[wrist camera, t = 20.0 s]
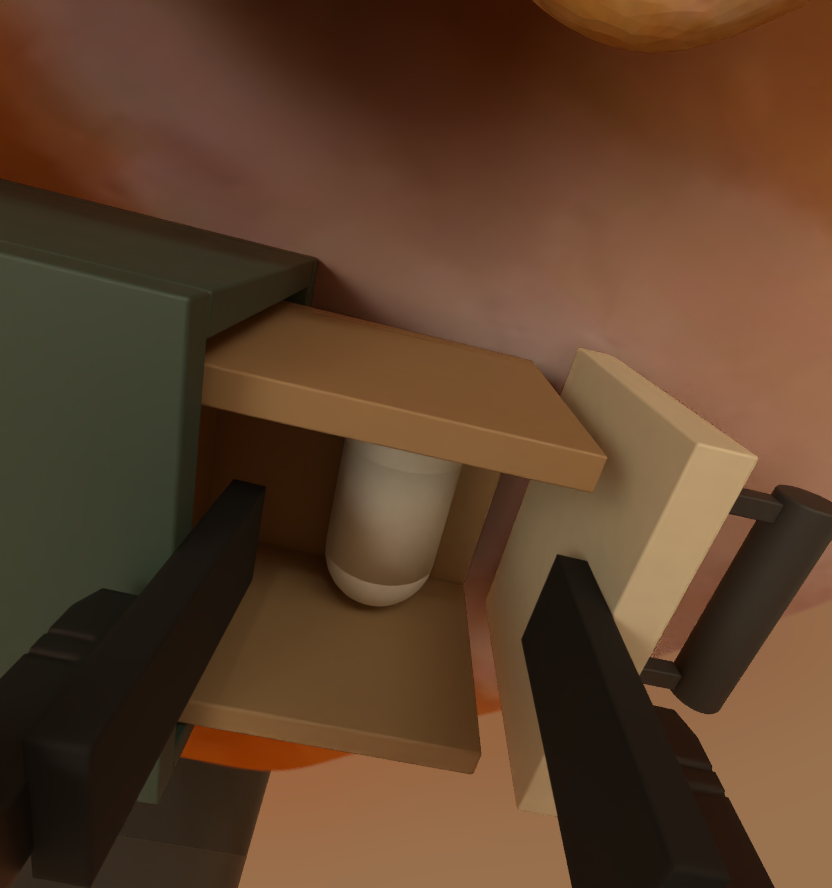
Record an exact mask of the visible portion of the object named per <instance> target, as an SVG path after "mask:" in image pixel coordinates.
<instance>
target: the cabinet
mask: <svg viewBox="0 0 832 888" xmlns="http://www.w3.org/2000/svg"><path fill="white" fill-rule="evenodd" d="M317 265H318V259H317V258H315V257H311V256H307V255H303V254H299V253H295V252H291V251H287V250H283V249H279V248H275V247H271V246H267V245H263V244H259V243H255V242H251V241H247V240H243V239H239V238H235V237H231V236H227V235H223V234H219V233H215V232H211V231H207V230H203V229H199V228H195V227H191V226H187V225H183V224H179V223H175V222H171V221H167V220H163V219H159V218H155V217H151V216H147V215H143V214H139V213H135V212H131V211H127V210H123V209H119V208H115V207H111V206H107V205H103V204H99V203H95V202H91V201H87V200H83V199H79V198H75V197H71V196H67V195H63V194H59V193H55V192H51V191H47V190H43V189H39V188H35V187H31V186H27V185H23V184H19V183H15V182H11V181H7V180H3V179H0V678H1V677H2V676H3V675H4V674H5V673H6V672H7V671H8V670H9V669H10V668H11V667H12V666H13V665H14V664H15V663H16V662H17V661H18V660H19V659H20V658H21V657H22V656H23V655H24V654H27V653H28V652H29V649H30V647H31V646H32V645H33V644H34V643H35V642H36V641H37V640H38V639H39V638H40V637H41V636H42V635H43V634H44V633H46V634H47V632H48V631H49V628H50V627H51V626H52V625H53V624H54V623H55V622H56V621H57V620H58V619H59V618H60V617H61V616H62V615H63V614H64V612H65V611H66V610H67V609H68V608H69V607H70V606H71V605H73V604H74V603H76V602H78V601H80V600H82V599H83V598H85V597H87V596H89V595H91V594H93V593H94V592H96V591H98V590H100V589H102V588H106V589H110V590H115V591H119V592H124V593H129V594H133V595H138V596H139V595H140V593H141V592H142V591H143V590H144V588H145V587H146V586H147V585H148V584H149V582H150V581H151V580H152V579H153V577H154V576H155V575H156V574H157V572H158V571H159V570H160V569H161V568H162V566H163V565H164V564H165V563H166V561H167V560H168V559H169V558H170V557H171V555H172V554H173V553H174V552H175V551H176V550H177V548H178V547H179V546H180V544H181V543H182V542H183V541H184V539H185V538H186V537H187V536H188V534H189V533H190V532H191V529H192V516H193V503H194V490H195V478H196V465H197V452H198V439H199V427H200V414H201V401H202V388H203V375H204V363H205V350H206V339H208V338H210V337H212V336H214V335H216V334H218V333H220V332H222V331H224V330H226V329H228V328H230V327H231V326H233V325H235V324H237V323H239V322H241V321H243V320H245V319H247V318H249V317H251V316H253V315H255V314H257V313H258V312H260V311H262V310H264V309H266V308H268V307H270V306H272V305H274V304H276V303H278V302H280V301H282V300H284V301H288V302H292V303H296V304H300V305H304V306H308V307H311V304H312V297H313V291H314V284H315V278H316V271H317ZM193 728H194V725H193V724H187V723H181V722H177V724H176V726H175V728H174V730H173V732H172V734H171V735H170V737H169V739H168V741H167V743H166V745H165V747H164V749H163V751H162V753H161V754H160V756H159V758H158V760H157V762H156V764H155V766H154V768H153V770H152V772H151V773H150V775H149V777H148V779H147V781H146V783H145V785H144V787H143V789H142V791H141V792H140V794H139V796H138V798H137V800H136V801H139V802H145V803H151V804H157V803H158V802H159V801H160V799H161V796H162V794H163V792H164V790H165V788H166V786H167V783H168V781H169V779H170V777H171V775H172V771H173V769H174V768H175V766H176V764H177V762H178V760H179V758H180V756H181V753H182V751H183V749H184V747H185V745H186V743H187V740H188V738H189V736H190V734H191V732H192V730H193Z"/></svg>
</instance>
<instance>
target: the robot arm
mask: <svg viewBox="0 0 832 888" xmlns="http://www.w3.org/2000/svg"><path fill="white" fill-rule="evenodd" d="M265 491H266V486H262V485H258V484H253V483H249V482H245V481H240V480H236V479H233V480H232V482H231V483H230V484H229V485H228V487H227V488H226V489H225V490H224V491H223V493H222V494H221V495H220V496H219V498H218V499H217V500H216V501H215V502H214V504H213V505H212V506H211V507H210V509H209V510H208V511H207V512H206V514H205V515H204V516H203V517H202V518H201V520H200V521H199V522H198V523H197V525H196V526H195V527H194V528H193V529H192V531H191V532H190V533H189V534H188V536H187V537H186V538H185V539H184V541H183V542H182V543H181V544H180V546H179V547H178V548H177V550H176V551H175V552H174V553H173V554H172V555H171V557H170V558H169V559H168V560H167V561H166V563H165V564H164V565H163V566H162V568H161V569H160V570H159V571H158V572H157V574H156V575H155V576H154V577H153V579H152V580H151V581H150V582H149V584H148V585H147V586H146V587H145V588H144V590H143V591H142V592H141V593H140V595H139V596H138V595H133V594H129V593H124V592H119V591H115V590H110V589H106V588H102V589H100V590H98V591H96V592H94V593H93V594H91V595H89V596H87V597H85V598H83V599H82V600H80V601H78V602H76V603H74V604H73V605H71V606H70V607H69V608H68V609H67V610H66V611H65V612H64V614H63V615H62V616H61V617H60V618H59V619H58V620H57V621H56V622H55V623H54V624H53V625H52V626H51V627H50V628H49V631H48V632H47V634H46V633H44V634H43V635H42V636H41V637H40V638H39V639H38V640H37V641H36V642H35V643H34V644H33V645H32V646H31V647H30V649H29V652H28V653H27V654H24V655H23V656H22V657H21V658H20V659H19V660H18V661H17V662H16V663H15V664H14V665H13V666H12V667H11V668H10V669H9V670H8V671H7V672H6V673H5V674H4V675H3V676H2V677H1V678H0V888H9V887H10V886H11V884H12V883H13V881H14V880H15V878H16V877H17V875H18V874H19V872H20V871H21V869H22V867H23V866H24V864H25V863H26V861H27V860H28V858H29V857H30V855H31V863H32V876H33V878H37V879H42V880H48V881H53V882H59V883H64V884H70V885H75V886H81V887H86V888H90V887H91V886H92V884H93V882H94V880H95V878H96V876H97V874H98V872H99V870H100V868H101V867H102V865H103V863H104V861H105V859H106V857H107V855H108V853H109V851H110V849H111V848H112V846H113V844H114V842H115V840H116V838H117V836H118V834H119V832H120V830H121V829H122V827H123V825H124V823H125V821H126V819H127V817H128V815H129V813H130V811H131V810H132V808H133V806H134V804H135V802H136V800H137V798H138V796H139V794H140V792H141V791H142V789H143V787H144V785H145V783H146V781H147V779H148V777H149V775H150V773H151V772H152V770H153V768H154V766H155V764H156V762H157V760H158V758H159V756H160V754H161V753H162V751H163V749H164V747H165V745H166V743H167V741H168V739H169V737H170V735H171V734H172V732H173V730H174V728H175V726H176V724H177V722H178V720H179V718H180V716H181V715H182V713H183V711H184V709H185V707H186V705H187V703H188V701H189V699H190V697H191V696H192V694H193V692H194V690H195V688H196V686H197V684H198V682H199V680H200V678H201V677H202V675H203V673H204V671H205V669H206V667H207V665H208V663H209V661H210V659H211V658H212V656H213V654H214V652H215V650H216V648H217V646H218V644H219V642H220V640H221V639H222V637H223V635H224V633H225V631H226V629H227V627H228V625H229V623H230V621H231V620H232V618H233V616H234V614H235V612H236V610H237V608H238V606H239V604H240V602H241V601H242V599H243V597H244V595H245V593H246V591H247V589H248V587H249V585H250V583H251V582H252V579H253V572H254V565H255V558H256V552H257V545H258V538H259V531H260V525H261V518H262V511H263V505H264V498H265ZM521 642H522V647H523V652H524V657H525V661H526V666H527V671H528V676H529V681H530V686H531V691H532V695H533V700H534V705H535V710H536V715H537V720H538V724H539V729H540V734H541V739H542V744H543V749H544V754H545V758H546V763H547V768H548V773H549V778H550V783H551V788H552V792H553V797H554V802H555V807H556V812H557V817H558V821H559V826H560V831H561V836H562V840H563V846H564V851H565V855H566V860H567V865H568V870H569V875H570V880H571V885H572V888H774V886H773V884H772V882H771V880H770V878H769V876H768V874H767V872H766V870H765V868H764V867H763V864H762V862H761V860H760V858H759V856H758V855H757V853H756V851H755V849H754V847H753V845H752V843H751V841H750V839H749V837H748V835H747V833H746V831H745V829H744V827H743V825H742V823H741V821H740V819H739V817H738V816H737V813H736V812H735V810H734V808H733V806H732V804H731V802H730V800H729V798H728V797H725V793H724V792H725V790H724V788H723V786H722V784H721V782H720V780H719V778H718V776H717V775H716V773H715V772H713V771H712V765H711V763H710V761H709V759H708V757H707V755H706V753H705V752H704V749H703V747H702V745H701V743H700V741H699V739H698V738H697V736H696V735H695V734H694V733H693V731H692V730H691V729H690V728H689V727H688V726H687V724H686V723H685V722H684V721H683V720H682V719H681V717H680V716H679V715H678V714H677V713H676V711H675V710H672V709H667V708H663V707H658V706H654V705H652V702H651V700H650V698H649V696H648V694H647V692H646V689H645V687H644V685H643V683H642V680H641V678H640V676H639V674H638V672H637V669H636V667H635V665H634V663H633V661H632V658H631V656H630V654H629V652H628V650H627V647H626V645H625V643H624V641H623V639H622V636H621V634H620V632H619V630H618V628H617V625H616V623H615V621H614V619H613V617H612V614H611V612H610V610H609V608H608V606H607V603H606V601H605V599H604V597H603V595H602V592H601V590H600V588H599V586H598V584H597V581H596V579H595V577H594V575H593V573H592V570H591V568H590V566H589V564H588V562H587V561H585V560H581V559H576V558H572V557H568V556H563V555H559V554H557V555H556V558H555V560H554V563H553V565H552V567H551V570H550V572H549V574H548V577H547V579H546V581H545V584H544V586H543V589H542V591H541V593H540V596H539V598H538V600H537V603H536V605H535V608H534V610H533V612H532V615H531V617H530V619H529V622H528V624H527V626H526V629H525V631H524V634H523V636H522V638H521Z"/></svg>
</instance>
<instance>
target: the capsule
mask: <svg viewBox="0 0 832 888" xmlns="http://www.w3.org/2000/svg"><path fill="white" fill-rule="evenodd" d="M462 465H463V464H460V463H456V462H451V461H447V460H442V459H438V458H433V457H429V456H424V455H420V454H416V453H411V452H407V451H402V450H398V449H393V448H389V447H385V446H380V445H376V444H371V443H367V442H362V441H358V440H353V439H349V438H345V441H344V447H343V452H342V457H341V463H340V468H339V474H338V479H337V484H336V490H335V495H334V500H333V506H332V511H331V517H330V522H329V527H328V533H327V538H326V550H325V557H326V562H327V567H328V570H329V573H330V575H331V577H332V579H333V580H334V582H335V584H336V585H337V586H338V587H339V588H340V589H341V590H342V591H343V592H344V594H346V595H347V596H348V597H350V598H351V599H353V600H355V601H357V602H360V603H362V604H366V605H370V606H379V607H380V606H390V605H394V604H397V603H399V602H402V601H404V600H406V599H408V598H409V597H411V596H412V595H413V594H415V593H416V592H417V591H418V590H419V589H420V588H421V587H422V586H423V584H424V583H425V582H426V580H427V579H428V577H429V574H430V572H431V570H432V568H433V565H434V562H435V558H436V555H437V551H438V548H439V544H440V541H441V537H442V534H443V530H444V527H445V524H446V520H447V517H448V513H449V510H450V506H451V503H452V499H453V496H454V492H455V489H456V485H457V482H458V479H459V475H460V472H461V468H462Z"/></svg>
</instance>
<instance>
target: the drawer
mask: <svg viewBox="0 0 832 888" xmlns="http://www.w3.org/2000/svg"><path fill="white" fill-rule="evenodd" d="M345 438H349V439H353V440H358V441H362V442H367V443H371V444H376V445H380V446H385V447H389V448H393V449H398V450H402V451H407V452H411V453H416V454H420V455H424V456H429V457H433V458H438V459H442V460H447V461H451V462H456V463H460V464H463V465H462V468H461V472H460V475H459V479H458V482H457V485H456V489H455V492H454V496H453V499H452V503H451V506H450V510H449V513H448V517H447V520H446V524H445V527H444V530H443V534H442V537H441V541H440V544H439V548H438V551H437V555H436V558H435V562H434V565H433V568H432V570H431V572H430V574H429V577H428V579H427V580H426V582H425V583H424V584H423V586H422V587H421V588H420V589H419V590H418V591H417V592H416V593H415V594H413V595H412V596H411V597H409V598H408V599H406V600H404V601H402V602H399V603H397V604H394V605H390V606H380V607H379V606H370V605H366V604H362V603H360V602H357V601H355V600H353V599H351V598H350V597H348V596H347V595H346V594H344V592H343V591H342V590H341V589H340V588H339V587H338V586H337V585H336V584H335V582H334V580H333V579H332V577H331V575H330V573H329V570H328V567H327V562H326V557H325V550H326V538H327V533H328V527H329V522H330V517H331V511H332V506H333V500H334V495H335V490H336V484H337V479H338V474H339V468H340V463H341V457H342V452H343V447H344V441H345ZM757 461H758V457H757V456H756V455H754V454H753V453H751V452H750V451H748V450H747V449H746V448H744V447H743V446H741V445H740V444H738V443H737V442H736V441H734V440H733V439H731V438H730V437H728V436H727V435H726V434H724V433H723V432H721V431H720V430H718V429H717V428H716V427H714V426H713V425H711V424H710V423H708V422H707V421H706V420H704V419H703V418H701V417H700V416H698V415H697V414H696V413H694V412H693V411H691V410H690V409H688V408H687V407H686V406H684V405H683V404H681V403H680V402H678V401H677V400H675V399H674V398H673V397H671V396H670V395H668V394H667V393H665V392H664V391H663V390H661V389H660V388H658V387H657V386H655V385H654V384H653V383H651V382H650V381H648V380H647V379H645V378H644V377H643V376H641V375H640V374H638V373H637V372H635V371H634V370H633V369H631V368H630V367H628V366H627V365H625V364H624V363H623V362H621V361H620V360H618V359H617V358H615V357H614V356H612V355H608V354H604V353H600V352H596V351H592V350H588V349H584V348H578V350H577V352H576V355H575V358H574V361H573V363H572V366H571V369H570V372H569V374H568V377H567V380H566V383H565V385H564V388H563V391H562V393H561V396H559V395H558V393H557V392H556V391H555V389H554V388H553V387H552V386H551V384H550V383H549V382H548V380H547V379H546V378H545V377H544V375H543V374H542V373H541V371H540V370H539V369H538V368H537V367H536V366H535V364H534V363H533V362H532V361H530V360H526V359H522V358H518V357H514V356H510V355H506V354H502V353H497V352H493V351H489V350H485V349H481V348H477V347H473V346H469V345H465V344H460V343H456V342H452V341H448V340H444V339H440V338H436V337H432V336H428V335H423V334H419V333H415V332H411V331H407V330H403V329H399V328H395V327H391V326H386V325H382V324H378V323H374V322H370V321H366V320H362V319H358V318H354V317H349V316H345V315H341V314H337V313H333V312H329V311H325V310H321V309H317V308H312V307H308V306H304V305H300V304H296V303H292V302H288V301H284V300H282V301H280V302H278V303H276V304H274V305H272V306H270V307H268V308H266V309H264V310H262V311H260V312H258V313H257V314H255V315H253V316H251V317H249V318H247V319H245V320H243V321H241V322H239V323H237V324H235V325H233V326H231V327H230V328H228V329H226V330H224V331H222V332H220V333H218V334H216V335H214V336H212V337H210V338H208V339H206V350H205V363H204V375H203V388H202V401H201V414H200V427H199V439H198V452H197V465H196V478H195V490H194V503H193V516H192V529H193V528H194V527H195V526H196V525H197V523H198V522H199V521H200V520H201V518H202V517H203V516H204V515H205V514H206V512H207V511H208V510H209V509H210V507H211V506H212V505H213V504H214V502H215V501H216V500H217V499H218V498H219V496H220V495H221V494H222V493H223V491H224V490H225V489H226V488H227V487H228V485H229V484H230V483H231V482H232V480H233V479H236V480H240V481H245V482H249V483H253V484H258V485H262V486H266V491H265V498H264V505H263V511H262V518H261V525H260V531H259V538H258V545H257V552H256V558H255V565H254V572H253V579H252V582H251V583H250V585H249V587H248V589H247V591H246V593H245V595H244V597H243V599H242V601H241V602H240V604H239V606H238V608H237V610H236V612H235V614H234V616H233V618H232V620H231V621H230V623H229V625H228V627H227V629H226V631H225V633H224V635H223V637H222V639H221V640H220V642H219V644H218V646H217V648H216V650H215V652H214V654H213V656H212V658H211V659H210V661H209V663H208V665H207V667H206V669H205V671H204V673H203V675H202V677H201V678H200V680H199V682H198V684H197V686H196V688H195V690H194V692H193V694H192V696H191V697H190V699H189V701H188V703H187V705H186V707H185V709H184V711H183V713H182V715H181V716H180V718H179V720H178V722H181V723H187V724H193V725H198V726H204V727H209V728H215V729H220V730H226V731H232V732H237V733H243V734H248V735H254V736H260V737H265V738H271V739H276V740H282V741H287V742H293V743H299V744H304V745H310V746H315V747H321V748H326V749H332V750H338V751H343V752H349V753H354V754H360V755H366V756H371V757H377V758H383V759H388V760H394V761H399V762H405V763H410V764H416V765H422V766H427V767H433V768H438V769H444V770H449V771H455V772H461V773H467V774H473V773H474V771H475V768H476V766H477V763H478V762H479V759H480V757H481V746H480V737H479V728H478V717H477V708H476V698H475V689H474V679H473V669H472V660H471V650H470V641H469V631H468V621H467V612H466V602H465V593H464V586H463V585H464V582H465V579H466V576H467V573H468V570H469V567H470V564H471V562H472V559H473V556H474V553H475V550H476V547H477V544H478V541H479V538H480V535H481V532H482V529H483V526H484V523H485V520H486V517H487V514H488V511H489V508H490V505H491V502H492V500H493V497H494V494H495V491H496V488H497V485H498V482H499V479H500V476H501V473H504V474H509V475H513V476H518V477H522V478H527V479H530V481H529V484H528V487H527V489H526V492H525V495H524V498H523V500H522V503H521V506H520V509H519V511H518V514H517V517H516V519H515V522H514V525H513V528H512V530H511V533H510V536H509V539H508V541H507V544H506V547H505V550H504V552H503V555H502V558H501V561H500V563H499V566H498V569H497V572H496V574H495V577H494V580H493V582H492V585H491V588H490V591H489V593H488V596H487V599H486V602H485V606H486V613H487V619H488V626H489V632H490V638H491V645H492V651H493V658H494V664H495V670H496V677H497V683H498V690H499V696H500V703H501V709H502V715H503V721H504V728H505V735H506V741H507V747H508V754H509V760H510V767H511V773H512V780H513V786H514V792H515V799H516V805H517V809H518V810H520V811H525V812H531V813H537V814H542V815H548V816H554V817H557V812H556V807H555V802H554V797H553V792H552V788H551V783H550V778H549V773H548V768H547V763H546V758H545V754H544V749H543V744H542V739H541V734H540V729H539V724H538V720H537V715H536V710H535V705H534V700H533V695H532V691H531V686H530V681H529V676H528V671H527V666H526V661H525V657H524V652H523V647H522V642H521V638H522V636H523V634H524V631H525V629H526V626H527V624H528V622H529V619H530V617H531V615H532V612H533V610H534V608H535V605H536V603H537V600H538V598H539V596H540V593H541V591H542V589H543V586H544V584H545V581H546V579H547V577H548V574H549V572H550V570H551V567H552V565H553V563H554V560H555V558H556V555H557V554H559V555H563V556H568V557H572V558H576V559H581V560H585V561H587V562H588V564H589V566H590V568H591V570H592V573H593V575H594V577H595V579H596V581H597V584H598V586H599V588H600V590H601V592H602V595H603V597H604V599H605V601H606V603H607V606H608V608H609V610H610V612H611V614H612V617H613V619H614V621H615V623H616V625H617V628H618V630H619V632H620V634H621V636H622V639H623V641H624V643H625V645H626V647H627V650H628V652H629V654H630V656H631V658H632V661H633V663H634V665H635V667H636V669H637V672H638V674H639V676H640V678H641V680H642V683H643V684H648V685H652V686H657V687H662V688H667V689H670V690H671V691H672V692H673V694H674V695H675V696H676V697H677V698H678V699H679V700H680V701H681V702H682V703H684V704H685V705H687V706H688V707H690V708H691V709H693V710H695V711H698V712H700V713H704V714H714V713H717V712H718V711H719V710H720V709H721V707H722V706H723V704H724V703H725V701H726V699H727V698H728V696H729V695H730V693H731V692H732V690H733V689H734V687H735V686H736V684H737V683H738V681H739V680H740V678H741V677H742V675H743V674H744V672H745V671H746V669H747V668H748V666H749V664H750V663H751V662H752V660H753V658H754V657H755V655H756V654H757V652H758V651H759V649H760V647H761V646H762V645H763V643H764V642H765V640H766V639H767V637H768V636H769V634H770V633H771V631H772V630H773V628H774V627H775V625H776V624H777V622H778V620H779V619H780V617H781V616H782V614H783V613H784V611H785V610H786V608H787V607H788V605H789V604H790V602H791V601H792V599H793V598H794V596H795V595H796V593H797V592H798V590H799V589H800V587H801V585H802V584H803V582H804V581H805V579H806V578H807V576H808V575H809V573H810V572H811V570H812V569H813V567H814V566H815V564H816V563H817V561H818V560H819V558H820V557H821V555H822V554H823V552H824V550H825V549H826V547H827V546H828V544H829V543H830V541H831V540H832V502H830V501H828V500H827V499H825V498H823V497H821V496H818V495H816V494H814V493H811V492H809V491H806V490H803V489H800V488H797V487H793V486H788V485H778V486H776V487H775V489H774V490H773V492H772V494H766V493H762V492H758V491H753V490H749V489H745V488H743V487H744V485H745V483H746V481H747V479H748V478H749V476H750V474H751V472H752V470H753V468H754V467H755V465H756V463H757ZM728 514H732V515H737V516H741V517H745V518H750V519H754V520H756V522H755V523H754V525H753V527H752V528H751V530H750V532H749V534H748V535H747V537H746V539H745V540H744V542H743V544H742V546H741V547H740V549H739V551H738V553H737V554H736V556H735V558H734V559H733V561H732V563H731V565H730V566H729V568H728V570H727V572H726V573H725V575H724V577H723V578H722V580H721V582H720V584H719V585H718V587H717V589H716V591H715V592H714V594H713V596H712V597H711V599H710V601H709V603H708V604H707V606H706V608H705V610H704V611H703V613H702V615H701V616H700V618H699V620H698V622H697V623H696V625H695V627H694V629H693V630H692V632H691V634H690V635H689V637H688V639H687V641H686V642H685V644H684V646H683V648H682V649H681V651H680V653H679V654H678V656H677V658H676V660H675V661H674V662H672V661H667V660H662V659H657V658H652V657H650V655H651V653H652V652H653V650H654V648H655V646H656V644H657V643H658V641H659V639H660V637H661V635H662V634H663V632H664V630H665V628H666V626H667V624H668V623H669V621H670V619H671V617H672V615H673V614H674V612H675V610H676V608H677V606H678V605H679V603H680V601H681V599H682V597H683V595H684V594H685V592H686V590H687V588H688V586H689V585H690V583H691V581H692V579H693V577H694V575H695V574H696V572H697V570H698V568H699V566H700V565H701V563H702V561H703V559H704V557H705V556H706V554H707V552H708V550H709V548H710V546H711V545H712V543H713V541H714V539H715V537H716V536H717V534H718V532H719V530H720V528H721V527H722V525H723V523H724V521H725V519H726V517H727V516H728ZM192 529H191V531H192Z"/></svg>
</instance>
